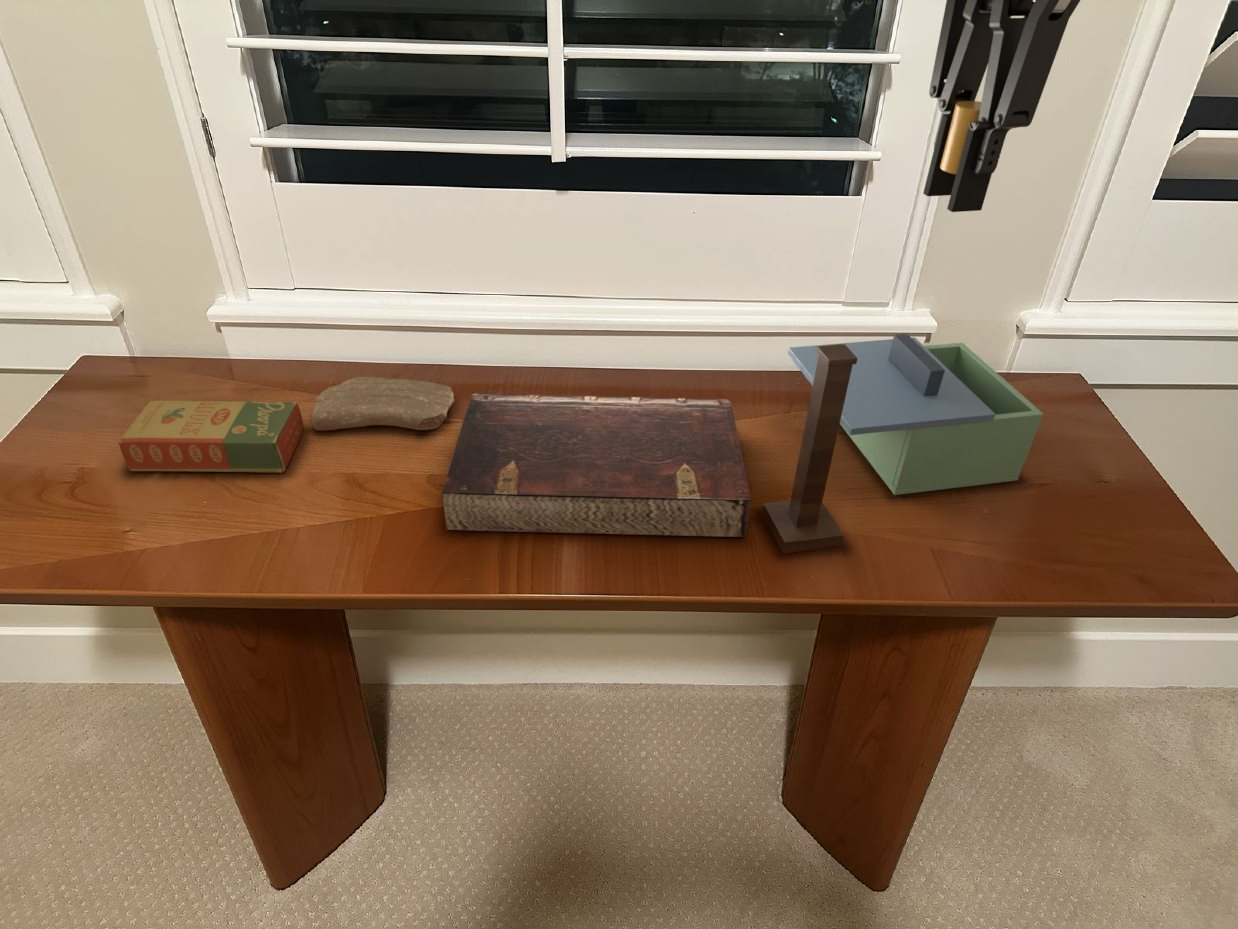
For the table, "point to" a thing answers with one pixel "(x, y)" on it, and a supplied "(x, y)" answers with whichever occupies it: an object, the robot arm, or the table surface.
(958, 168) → the robot arm
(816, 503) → the stand
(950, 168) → the peg
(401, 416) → the decorative stone
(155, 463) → the carton
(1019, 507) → the table surface
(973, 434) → the bin
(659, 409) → the hardback book
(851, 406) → the lid
